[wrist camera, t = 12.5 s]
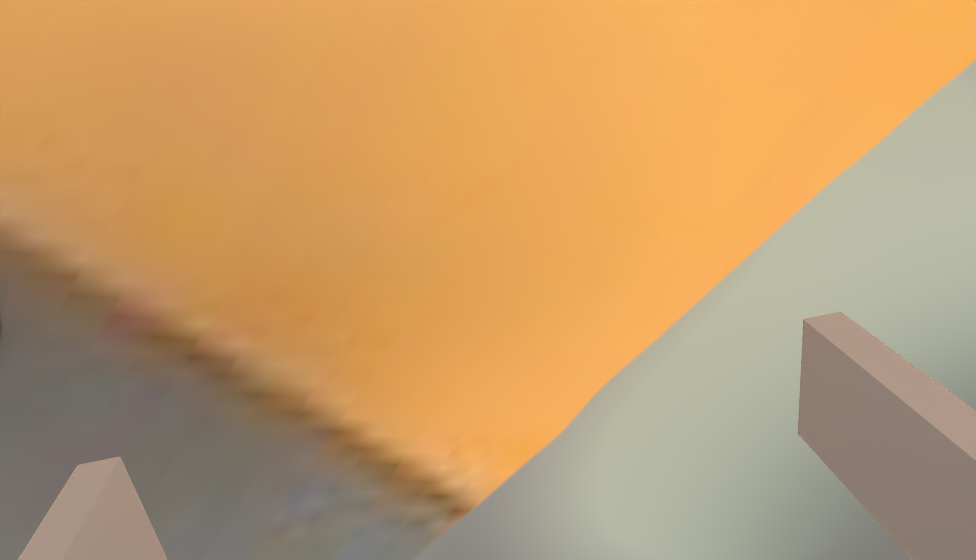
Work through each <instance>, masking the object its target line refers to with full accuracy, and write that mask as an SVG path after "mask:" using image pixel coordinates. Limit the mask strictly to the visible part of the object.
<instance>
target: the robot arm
mask: <svg viewBox="0 0 976 560" xmlns="http://www.w3.org/2000/svg"><path fill="white" fill-rule="evenodd" d="M798 434H799V435H800V436H801V438H802V439H803V440H804V441H805V442H806V443H807V444H808V445H809V446H810V448H812V450H813V451H814V452H815V453H816V454H817V455H818V456H819V457H820V459H821V460H822V461H823V462H824V463H825V464H826V465H827V466H828V468H829V469H830V470H831V471H832V472H833V473H834V474H835V475H836V476H837V478H838V479H839V480H840V481H841V482H842V483H843V484H844V485H845V486H846V487H847V489H848V490H849V491H850V492H851V493H852V494H853V495H854V496H855V497H856V499H857V500H858V501H859V502H860V503H861V504H862V505H863V506H864V507H865V509H866V510H867V511H868V512H869V513H870V514H871V515H872V516H873V517H874V518H875V520H876V521H877V522H878V523H879V524H880V525H881V526H882V527H883V528H884V530H885V531H886V532H887V533H888V534H889V535H890V536H891V537H892V538H893V540H894V541H895V542H896V543H897V544H898V545H899V546H900V547H901V548H902V550H903V551H904V552H905V553H906V554H907V555H908V556H909V557H910V558H911V560H976V411H975V410H973V409H972V408H971V407H969V406H968V405H967V404H965V403H964V402H963V401H961V400H960V399H958V398H957V397H956V396H954V395H953V394H952V393H950V392H949V391H948V390H946V389H945V388H943V387H942V386H941V385H939V384H938V383H937V382H935V381H934V380H933V379H931V378H930V377H929V376H927V375H926V374H925V373H923V372H922V371H920V370H919V369H917V368H916V367H915V366H914V365H912V364H911V363H910V362H908V361H907V360H906V359H904V358H903V357H901V356H900V355H899V354H897V353H896V352H895V351H893V350H892V349H891V348H889V347H888V346H887V345H885V344H884V343H882V342H881V341H880V340H878V339H877V338H876V337H874V336H873V335H872V334H870V333H869V332H868V331H866V330H865V329H863V328H862V327H861V326H859V325H858V324H857V323H855V322H854V321H853V320H851V319H850V318H849V317H847V316H846V315H844V314H843V313H842V312H837V313H832V314H827V315H822V316H817V317H812V318H807V319H804V320H803V337H802V359H801V378H800V399H799V420H798ZM18 560H168V559H167V557H166V555H165V553H164V551H163V549H162V546H161V544H160V542H159V540H158V538H157V535H156V533H155V531H154V529H153V527H152V525H151V522H150V520H149V518H148V516H147V514H146V512H145V509H144V507H143V505H142V503H141V501H140V499H139V496H138V494H137V492H136V490H135V488H134V485H133V483H132V481H131V479H130V477H129V475H128V472H127V470H126V468H125V466H124V464H123V462H122V459H121V457H120V456H119V457H114V458H110V459H105V460H100V461H95V462H90V463H85V464H80V465H77V467H76V468H75V470H74V471H73V473H72V474H71V476H70V478H69V479H68V481H67V482H66V484H65V486H64V487H63V489H62V490H61V492H60V493H59V495H58V497H57V498H56V500H55V501H54V503H53V505H52V506H51V508H50V509H49V511H48V512H47V514H46V516H45V517H44V519H43V520H42V522H41V524H40V525H39V527H38V528H37V530H36V532H35V533H34V535H33V536H32V538H31V539H30V541H29V543H28V544H27V546H26V547H25V549H24V551H23V552H22V554H21V555H20V557H19V558H18Z"/></svg>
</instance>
